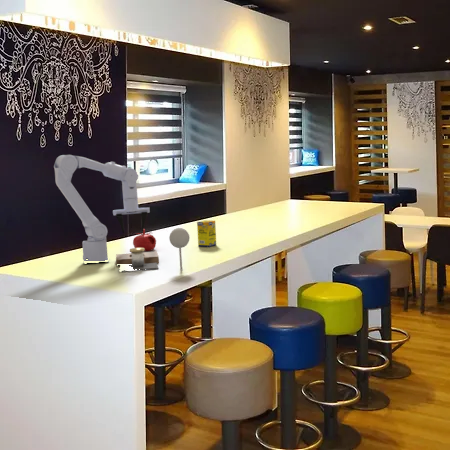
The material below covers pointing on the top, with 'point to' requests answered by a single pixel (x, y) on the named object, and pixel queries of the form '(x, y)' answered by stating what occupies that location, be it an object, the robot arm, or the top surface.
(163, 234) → the top surface
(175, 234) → the lollipop
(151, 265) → the mat
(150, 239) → the pomegranate
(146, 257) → the housing
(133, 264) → the gold rounded piece
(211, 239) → the supplement box
